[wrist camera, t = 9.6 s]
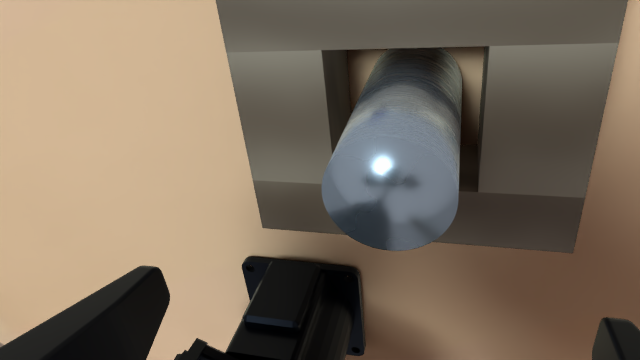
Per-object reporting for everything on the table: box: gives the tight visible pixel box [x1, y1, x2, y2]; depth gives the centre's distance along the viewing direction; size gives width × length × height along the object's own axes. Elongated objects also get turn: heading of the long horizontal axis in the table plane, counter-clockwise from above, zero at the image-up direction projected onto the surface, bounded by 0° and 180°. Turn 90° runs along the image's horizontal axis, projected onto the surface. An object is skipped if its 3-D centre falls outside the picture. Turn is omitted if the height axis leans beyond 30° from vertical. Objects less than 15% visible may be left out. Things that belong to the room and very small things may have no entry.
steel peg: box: [321, 47, 462, 251], centre depth 16 cm, size 4×4×8 cm
